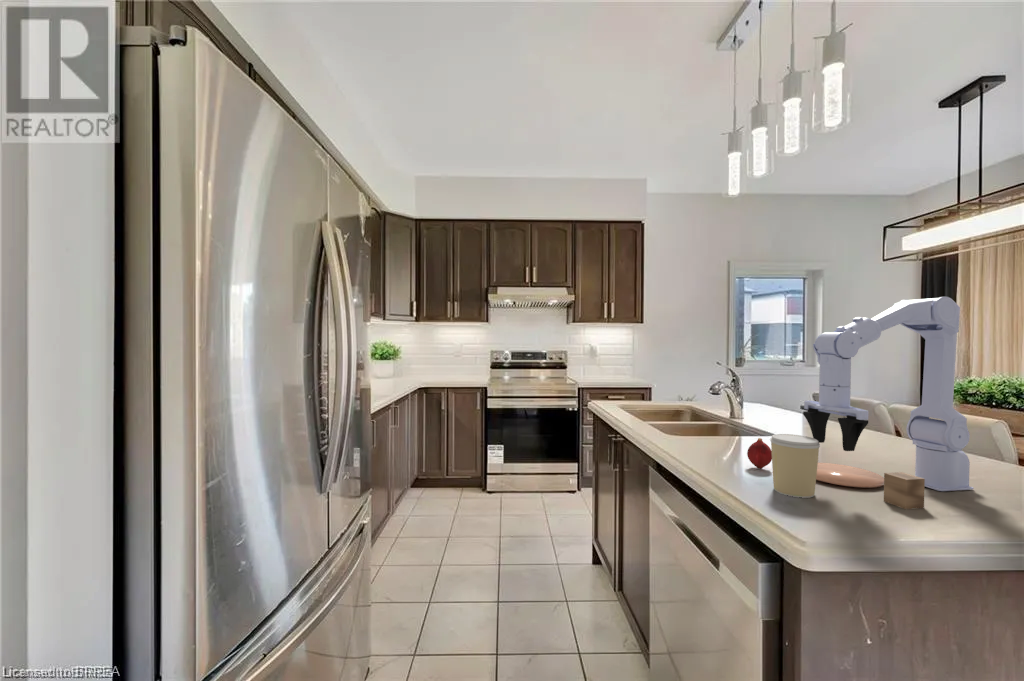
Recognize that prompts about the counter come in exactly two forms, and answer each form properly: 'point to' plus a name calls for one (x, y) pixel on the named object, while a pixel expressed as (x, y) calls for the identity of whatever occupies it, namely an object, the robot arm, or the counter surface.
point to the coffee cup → (794, 464)
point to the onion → (759, 454)
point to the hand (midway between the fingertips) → (833, 446)
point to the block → (904, 490)
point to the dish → (847, 475)
